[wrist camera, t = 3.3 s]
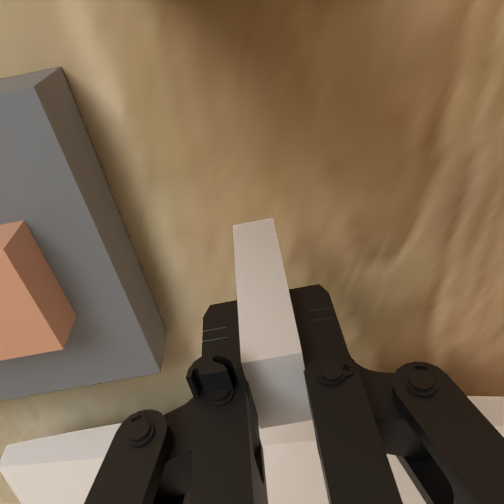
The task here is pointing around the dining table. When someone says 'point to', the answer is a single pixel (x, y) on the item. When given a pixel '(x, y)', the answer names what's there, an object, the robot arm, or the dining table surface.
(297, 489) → the board
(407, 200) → the dining table surface
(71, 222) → the slate board
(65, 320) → the tile terracotta
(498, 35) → the dining table surface
